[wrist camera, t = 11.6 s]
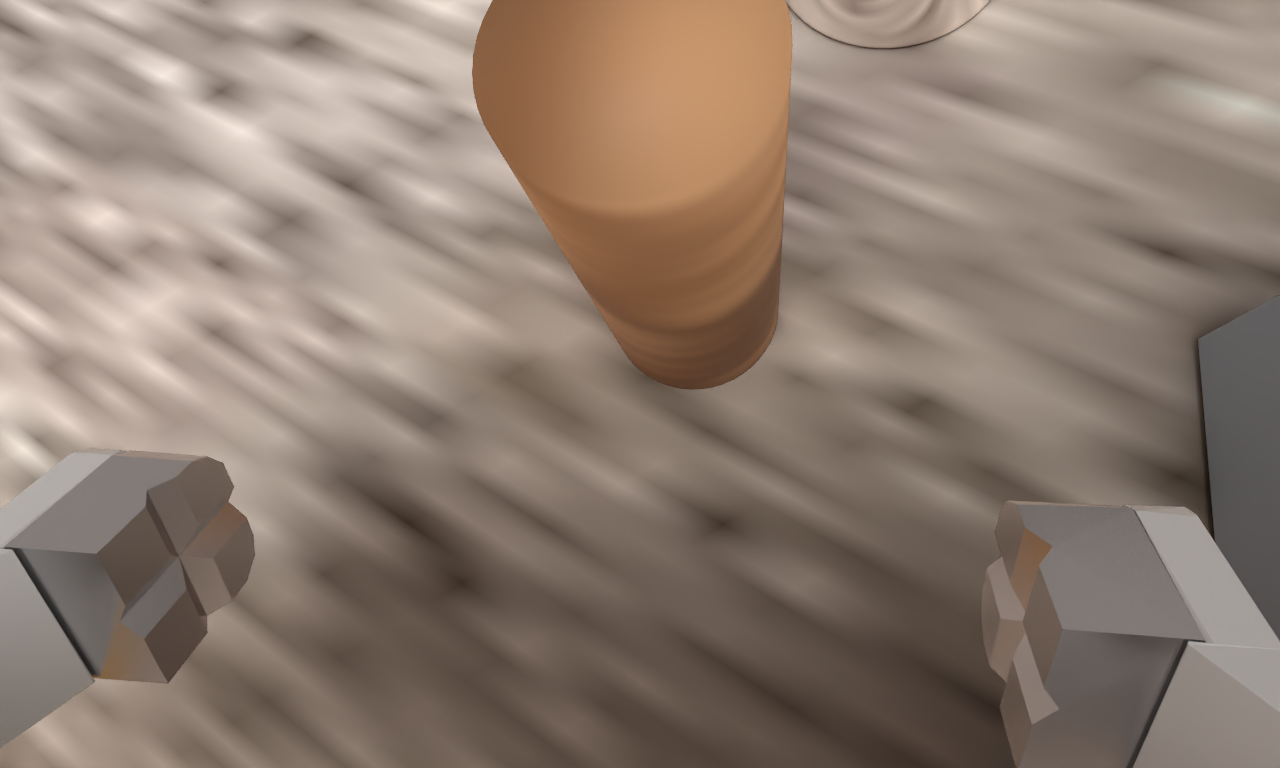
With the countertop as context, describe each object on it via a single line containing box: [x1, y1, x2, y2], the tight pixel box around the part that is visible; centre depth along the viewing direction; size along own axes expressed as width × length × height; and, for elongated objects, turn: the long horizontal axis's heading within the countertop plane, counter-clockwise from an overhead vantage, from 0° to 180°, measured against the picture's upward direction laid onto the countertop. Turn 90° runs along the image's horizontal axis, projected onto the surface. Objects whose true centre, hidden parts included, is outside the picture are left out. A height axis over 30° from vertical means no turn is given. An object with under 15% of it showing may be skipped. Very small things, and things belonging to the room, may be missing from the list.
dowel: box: [472, 0, 792, 389], centre depth 15 cm, size 4×4×10 cm
